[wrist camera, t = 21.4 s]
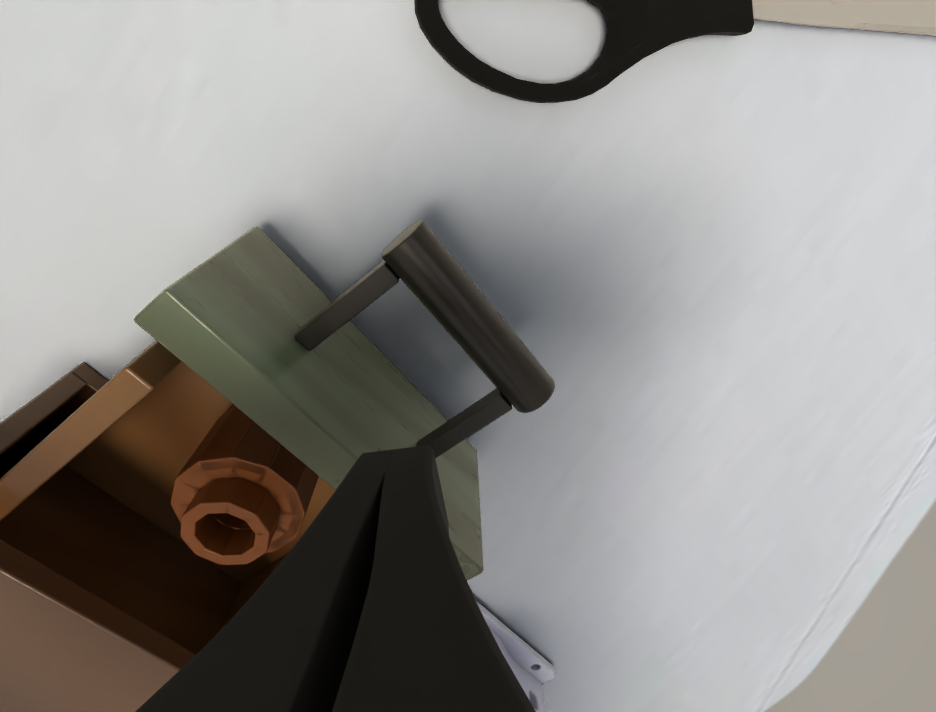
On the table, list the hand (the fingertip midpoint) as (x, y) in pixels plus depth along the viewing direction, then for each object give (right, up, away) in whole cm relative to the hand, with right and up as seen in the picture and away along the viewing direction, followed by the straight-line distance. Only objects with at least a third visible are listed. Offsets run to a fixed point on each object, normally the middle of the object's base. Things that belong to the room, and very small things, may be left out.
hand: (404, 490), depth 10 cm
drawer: (-5, +1, +9) cm, 10 cm away
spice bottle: (-6, 0, +9) cm, 10 cm away
